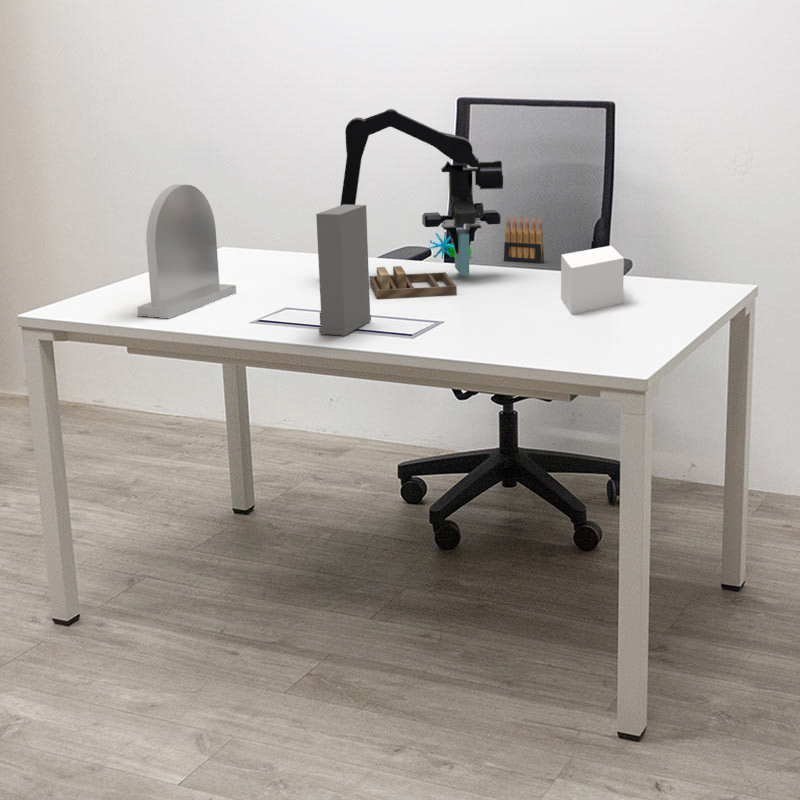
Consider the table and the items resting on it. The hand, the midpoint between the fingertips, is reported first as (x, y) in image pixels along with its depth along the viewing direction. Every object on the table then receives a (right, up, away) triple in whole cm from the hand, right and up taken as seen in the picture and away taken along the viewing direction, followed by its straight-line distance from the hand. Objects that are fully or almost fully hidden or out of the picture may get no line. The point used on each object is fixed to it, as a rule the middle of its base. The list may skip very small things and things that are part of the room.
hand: (461, 253), depth 309 cm
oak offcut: (-15, -10, -11) cm, 22 cm away
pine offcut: (-19, -11, -12) cm, 25 cm away
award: (-64, -15, -20) cm, 69 cm away
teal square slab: (0, -4, +1) cm, 4 cm away
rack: (-12, -10, -11) cm, 19 cm away
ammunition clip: (+17, 0, +19) cm, 26 cm away
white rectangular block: (+28, -14, -28) cm, 42 cm away
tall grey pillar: (-27, -21, -47) cm, 58 cm away
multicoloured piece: (-1, +2, +29) cm, 29 cm away
